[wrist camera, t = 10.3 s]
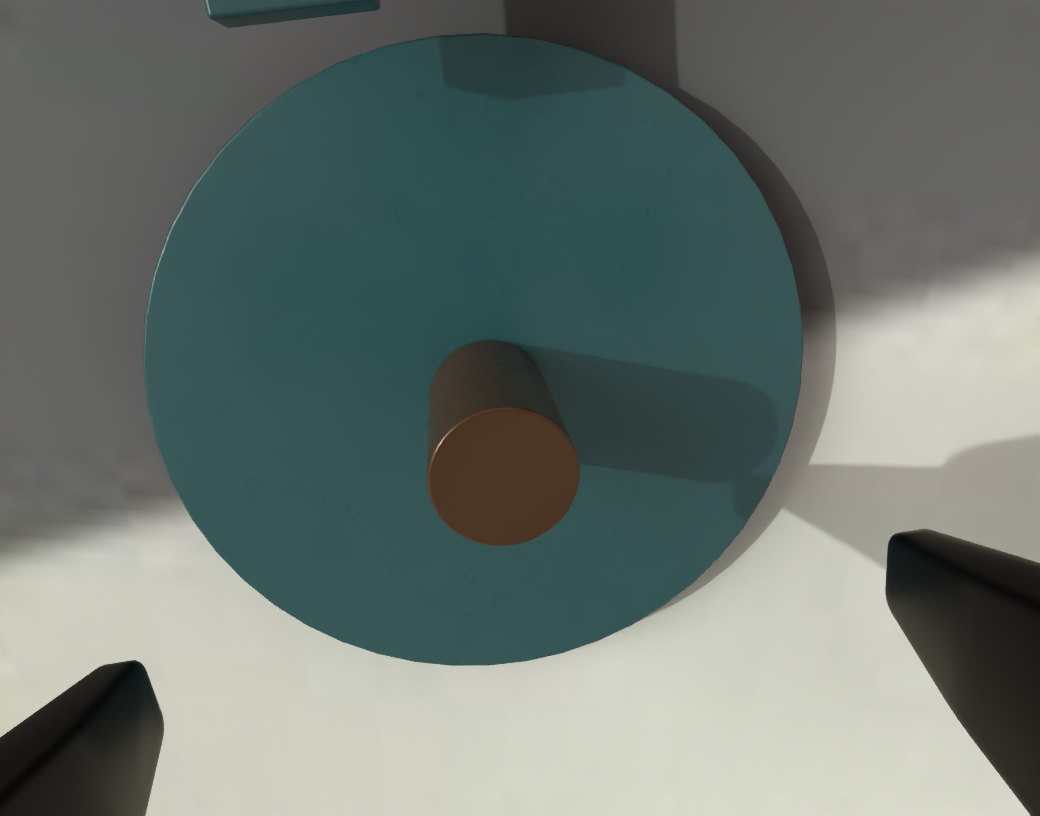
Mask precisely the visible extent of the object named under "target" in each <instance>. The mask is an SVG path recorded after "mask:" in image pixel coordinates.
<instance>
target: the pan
mask: <svg viewBox="0 0 1040 816" xmlns="http://www.w3.org/2000/svg"><path fill="white" fill-rule="evenodd" d="M204 2H205V6H206V10H207V14H208V16H209V18H210V19H212V20H214V21H216V22H218V23H220V24H222V25H224V26H226V27H229V28H232V27H240V26H248V25H257V24H265V23H273V22H282V21H290V20H298V19H307V18H315V17H323V16H332V15H340V14H349V13H357V12H365V11H374V10H378V9H379V8H380V0H204Z"/></svg>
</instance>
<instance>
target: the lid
mask: <svg viewBox="0 0 1040 816" xmlns="http://www.w3.org/2000/svg"><path fill="white" fill-rule="evenodd" d="M802 356H803V339H802V321H801V307H800V302H799V296H798V291H797V286H796V281H795V276H794V271H793V266H792V263H791V260H790V258H789V255H788V252H787V249H786V246H785V243H784V240H783V237H782V234H781V231H780V228H779V226H778V224H777V222H776V220H775V218H774V216H773V214H772V212H771V210H770V208H769V206H768V204H767V202H766V200H765V198H764V196H763V194H762V192H761V191H760V189H759V187H758V186H757V185H756V183H755V182H754V180H753V179H752V177H751V176H750V174H749V173H748V172H747V170H746V169H745V167H744V166H743V164H742V163H741V162H740V160H739V159H738V157H737V156H736V154H735V153H734V152H733V151H732V150H731V149H730V148H729V147H728V146H727V145H726V144H725V142H724V141H723V140H722V139H721V138H720V137H719V136H718V135H717V134H716V133H715V132H714V131H713V130H712V129H711V127H710V126H709V125H708V124H707V123H706V122H705V121H704V120H703V119H701V118H700V117H699V116H698V115H696V114H695V113H694V112H693V111H691V110H690V109H689V108H688V107H686V106H685V105H684V104H683V103H681V102H680V101H679V100H678V99H676V98H675V97H674V96H673V95H671V94H670V93H669V92H668V91H666V90H664V89H662V88H661V87H659V86H657V85H656V84H654V83H652V82H651V81H649V80H647V79H645V78H644V77H642V76H640V75H639V74H637V73H635V72H633V71H632V70H630V69H628V68H626V67H624V66H621V65H619V64H616V63H614V62H612V61H609V60H607V59H604V58H602V57H599V56H597V55H594V54H592V53H589V52H587V51H584V50H582V49H577V48H573V47H569V46H565V45H561V44H557V43H553V42H549V41H545V40H541V39H537V38H529V37H519V36H508V35H498V34H488V33H482V34H462V35H441V36H432V37H427V38H422V39H417V40H412V41H407V42H402V43H396V44H391V45H386V46H383V47H381V48H378V49H375V50H372V51H369V52H367V53H364V54H361V55H358V56H355V57H352V58H350V59H347V60H344V61H341V62H338V63H337V64H335V65H333V66H331V67H329V68H327V69H325V70H323V71H322V72H320V73H318V74H316V75H314V76H312V77H310V78H308V79H306V80H305V81H303V82H301V83H299V84H297V85H295V86H294V87H292V88H291V89H290V90H288V91H287V92H285V93H284V94H283V95H281V96H280V97H279V98H277V99H276V100H275V101H273V102H272V103H271V104H269V105H268V106H266V107H265V108H264V109H262V110H261V111H260V112H258V113H257V114H256V115H254V116H253V117H252V118H251V119H250V120H249V121H248V122H247V123H246V124H245V125H244V126H243V127H242V128H241V129H240V130H239V131H238V132H237V133H236V134H235V135H234V136H233V137H232V138H231V139H230V140H229V141H228V142H227V143H226V144H225V145H224V146H223V147H222V148H221V149H220V150H219V152H218V153H217V154H216V156H215V157H214V158H213V160H212V161H211V162H210V164H209V165H208V167H207V168H206V169H205V171H204V172H203V173H202V175H201V176H200V177H199V179H198V180H197V181H196V183H195V184H194V185H193V187H192V188H191V190H190V192H189V194H188V196H187V197H186V199H185V201H184V203H183V205H182V207H181V209H180V210H179V212H178V214H177V216H176V218H175V220H174V222H173V224H172V225H171V227H170V229H169V232H168V235H167V238H166V240H165V243H164V246H163V249H162V251H161V254H160V257H159V260H158V263H157V265H156V268H155V271H154V275H153V280H152V285H151V290H150V295H149V300H148V305H147V310H146V315H145V331H144V351H143V366H144V376H145V387H146V397H147V405H148V409H149V414H150V418H151V422H152V426H153V430H154V434H155V439H156V443H157V446H158V449H159V451H160V454H161V456H162V459H163V461H164V464H165V467H166V469H167V472H168V474H169V477H170V479H171V482H172V484H173V486H174V488H175V490H176V491H177V493H178V495H179V497H180V499H181V500H182V502H183V504H184V506H185V508H186V509H187V511H188V513H189V515H190V516H191V518H192V520H193V521H194V523H195V524H196V525H197V527H198V528H199V529H200V531H201V532H202V533H203V535H204V536H205V537H206V539H207V540H208V541H209V543H210V544H211V545H212V547H213V548H214V549H215V551H216V552H217V553H218V554H219V555H220V556H221V557H222V558H223V559H224V560H225V561H226V562H227V563H228V564H229V565H230V566H231V567H232V569H233V570H234V571H235V572H236V573H237V574H238V575H239V576H240V577H241V578H242V579H243V580H244V581H245V582H247V583H248V584H249V585H250V586H252V587H253V588H254V589H255V590H257V591H258V592H259V593H260V594H262V595H263V596H264V597H265V598H267V599H268V600H269V601H270V602H271V603H273V604H274V605H275V606H277V607H279V608H280V609H282V610H284V611H285V612H287V613H288V614H290V615H292V616H293V617H295V618H296V619H298V620H300V621H301V622H303V623H304V624H306V625H308V626H310V627H312V628H314V629H316V630H318V631H320V632H323V633H325V634H327V635H329V636H331V637H333V638H335V639H337V640H340V641H342V642H345V643H348V644H351V645H354V646H357V647H359V648H362V649H365V650H368V651H371V652H374V653H377V654H382V655H386V656H391V657H395V658H400V659H405V660H409V661H414V662H423V663H433V664H442V665H496V664H505V663H513V662H522V661H529V660H533V659H537V658H542V657H546V656H551V655H555V654H560V653H564V652H566V651H569V650H572V649H575V648H578V647H581V646H584V645H587V644H590V643H593V642H596V641H598V640H600V639H603V638H605V637H607V636H609V635H611V634H613V633H615V632H618V631H620V630H622V629H624V628H626V627H628V626H630V625H632V624H634V623H635V622H637V621H639V620H640V619H642V618H644V617H645V616H647V615H649V614H650V613H652V612H654V611H655V610H657V609H659V608H660V607H662V606H663V605H665V604H666V603H667V602H668V601H670V600H671V599H672V598H674V597H675V596H676V595H678V594H679V593H680V592H681V591H683V590H684V589H685V588H687V587H688V586H689V585H691V584H692V583H693V582H694V581H695V580H696V579H697V578H698V577H699V576H700V575H701V574H702V573H703V572H704V571H705V570H706V569H707V568H708V567H710V566H711V565H712V564H713V563H714V562H715V561H716V560H717V559H718V558H719V557H720V555H721V554H722V553H723V552H724V551H725V549H726V548H727V547H728V546H729V545H730V543H731V542H732V541H733V540H734V538H735V537H736V536H737V535H738V534H739V532H740V531H741V530H742V529H743V527H744V526H745V524H746V523H747V521H748V519H749V518H750V516H751V515H752V513H753V512H754V510H755V509H756V507H757V505H758V504H759V502H760V501H761V499H762V498H763V496H764V494H765V492H766V490H767V488H768V486H769V484H770V482H771V479H772V477H773V475H774V473H775V471H776V469H777V467H778V465H779V463H780V460H781V457H782V454H783V452H784V449H785V446H786V443H787V440H788V437H789V434H790V431H791V428H792V425H793V420H794V415H795V410H796V405H797V401H798V396H799V391H800V383H801V369H802Z"/></svg>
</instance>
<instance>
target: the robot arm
mask: <svg viewBox="0 0 1040 816" xmlns="http://www.w3.org/2000/svg"><path fill="white" fill-rule="evenodd" d="M885 590H886V599H887V603H888V606H889V608H890V610H891V612H892V614H893V616H894V617H895V619H896V621H897V622H898V624H899V626H900V627H901V629H902V630H903V632H904V634H905V635H906V637H907V639H908V640H909V642H910V643H911V645H912V647H913V648H914V650H915V652H916V653H917V655H918V656H919V658H920V660H921V661H922V663H923V665H924V666H925V668H926V669H927V671H928V673H929V674H930V676H931V678H932V679H933V681H934V682H935V684H936V686H937V687H938V689H939V691H940V692H941V694H942V695H943V697H944V699H945V700H946V702H947V703H948V705H949V706H950V708H951V709H952V711H953V712H954V714H955V716H956V717H957V719H958V720H959V721H960V723H961V724H962V725H963V727H964V728H965V730H966V731H967V732H968V734H969V735H970V736H971V738H972V739H973V740H974V742H975V743H976V744H977V746H978V747H979V748H980V750H981V751H982V752H983V753H984V755H985V756H986V757H987V759H988V760H989V761H990V763H991V764H992V765H993V767H994V768H995V769H996V771H997V772H998V773H999V774H1000V776H1001V777H1002V778H1003V780H1004V781H1005V782H1006V784H1007V785H1008V786H1009V788H1010V789H1011V790H1012V791H1013V793H1014V794H1015V795H1016V797H1017V798H1018V799H1019V801H1020V802H1021V803H1022V805H1023V806H1024V807H1025V809H1026V810H1027V811H1028V812H1029V814H1030V815H1031V816H1040V563H1038V562H1034V561H1031V560H1028V559H1025V558H1021V557H1018V556H1015V555H1011V554H1008V553H1005V552H1001V551H998V550H995V549H992V548H988V547H985V546H982V545H978V544H975V543H972V542H969V541H965V540H962V539H959V538H955V537H952V536H949V535H946V534H942V533H939V532H936V531H932V530H929V529H919V530H913V531H907V532H901V533H896V534H894V535H893V536H892V537H891V538H890V540H889V543H888V552H887V570H886V588H885ZM163 735H164V721H163V716H162V712H161V710H160V707H159V704H158V701H157V699H156V696H155V693H154V690H153V688H152V685H151V682H150V679H149V676H148V674H147V671H146V669H145V667H144V666H143V665H142V663H140V662H138V661H136V660H132V661H125V662H119V663H113V664H107V665H103V666H100V667H99V668H97V669H96V670H94V671H93V672H91V673H90V674H89V675H87V676H86V677H84V678H83V679H82V680H80V681H79V682H77V683H76V684H75V685H73V686H72V687H70V688H69V689H68V690H66V691H65V692H63V693H62V694H61V695H59V696H58V697H56V698H55V699H54V700H52V701H51V702H49V703H48V704H47V705H45V706H44V707H42V708H41V709H40V710H38V711H37V712H35V713H34V714H33V715H31V716H30V717H28V718H27V719H26V720H24V721H23V722H21V723H20V724H19V725H17V726H16V727H14V728H13V729H12V730H10V731H9V732H7V733H6V734H5V735H3V736H2V737H0V816H145V814H146V810H147V806H148V801H149V797H150V793H151V788H152V784H153V780H154V775H155V771H156V767H157V762H158V758H159V753H160V749H161V745H162V740H163Z"/></svg>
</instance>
